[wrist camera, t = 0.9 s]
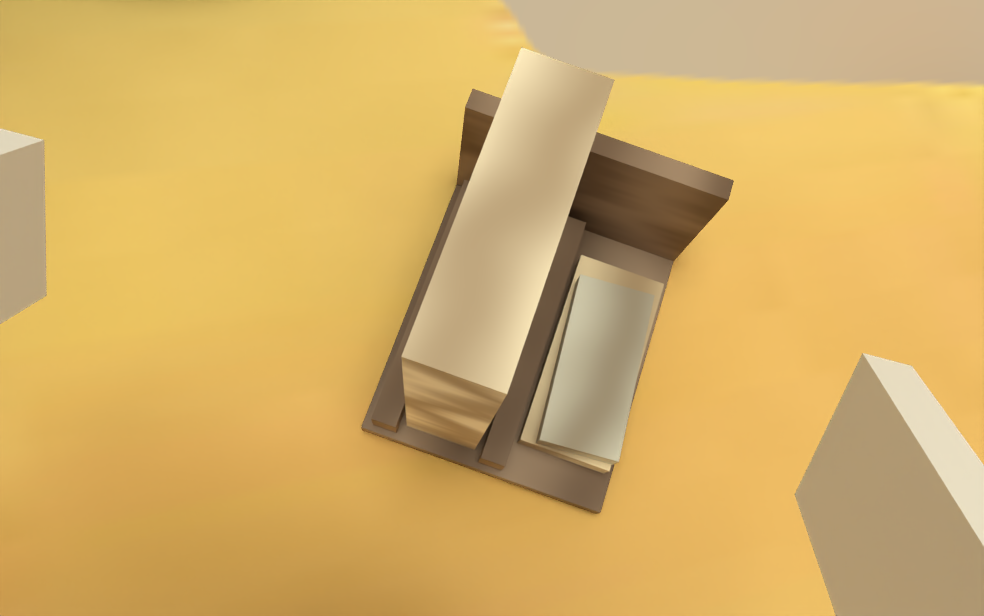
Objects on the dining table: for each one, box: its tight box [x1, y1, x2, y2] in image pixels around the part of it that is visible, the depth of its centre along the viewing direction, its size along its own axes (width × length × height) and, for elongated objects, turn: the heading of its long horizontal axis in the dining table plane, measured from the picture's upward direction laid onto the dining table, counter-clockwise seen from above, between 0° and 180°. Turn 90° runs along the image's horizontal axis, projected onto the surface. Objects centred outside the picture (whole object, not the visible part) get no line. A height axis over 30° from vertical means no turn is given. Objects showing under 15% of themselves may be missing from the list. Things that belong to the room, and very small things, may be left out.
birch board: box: [401, 47, 614, 450], centre depth 34 cm, size 4×12×15 cm, turn 161°
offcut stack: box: [517, 255, 664, 474], centre depth 40 cm, size 4×10×3 cm, turn 161°
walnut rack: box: [361, 89, 733, 514], centre depth 38 cm, size 12×15×9 cm
